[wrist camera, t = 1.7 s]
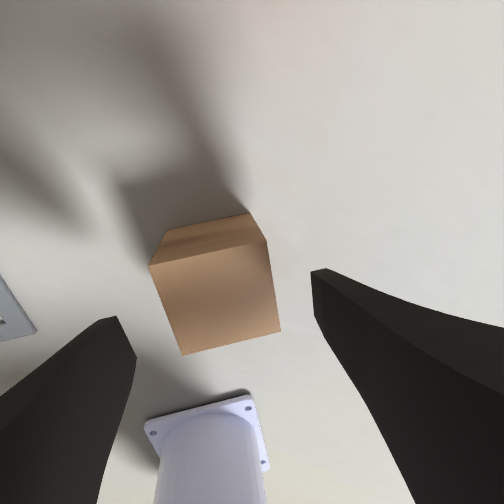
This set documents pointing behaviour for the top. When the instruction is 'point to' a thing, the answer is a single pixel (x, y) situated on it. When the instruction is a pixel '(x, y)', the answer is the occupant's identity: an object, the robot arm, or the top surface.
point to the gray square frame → (12, 316)
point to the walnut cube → (216, 283)
